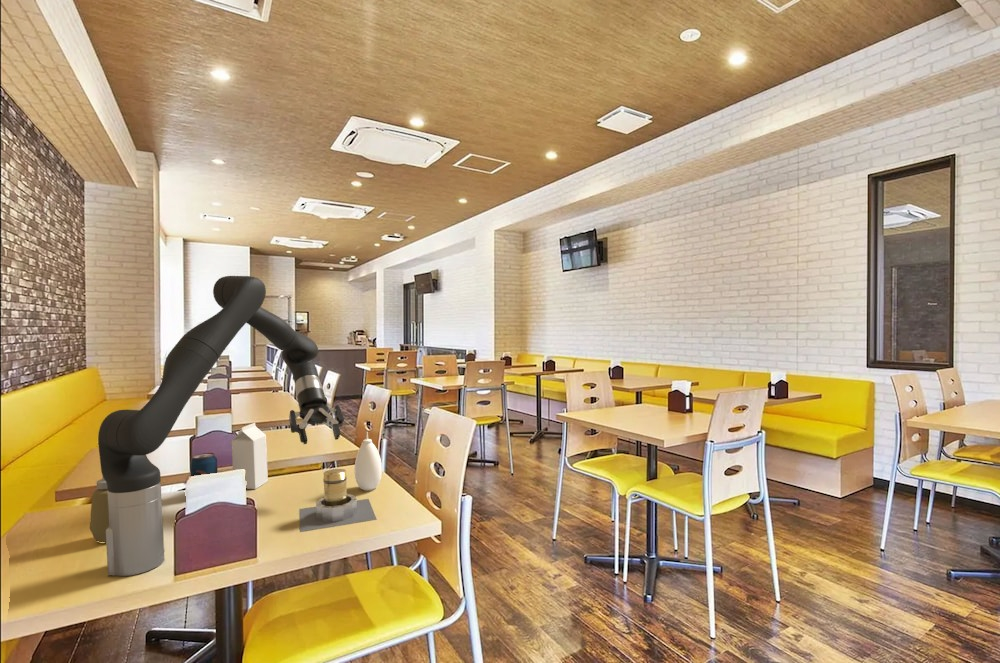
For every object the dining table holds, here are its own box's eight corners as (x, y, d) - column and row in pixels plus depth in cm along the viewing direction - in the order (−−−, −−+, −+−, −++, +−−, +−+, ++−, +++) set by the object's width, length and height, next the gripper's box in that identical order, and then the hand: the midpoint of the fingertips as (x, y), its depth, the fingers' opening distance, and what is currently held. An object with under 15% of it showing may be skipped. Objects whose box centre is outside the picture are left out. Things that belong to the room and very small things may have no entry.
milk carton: (268, 481, 164) (265, 422, 164) (255, 489, 157) (252, 427, 157) (247, 481, 165) (244, 422, 164) (233, 489, 158) (230, 427, 157)
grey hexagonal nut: (317, 524, 128) (316, 510, 128) (315, 510, 137) (315, 497, 137) (358, 517, 131) (358, 504, 131) (354, 504, 141) (354, 491, 140)
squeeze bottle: (97, 535, 126) (94, 462, 126) (136, 529, 129) (133, 458, 129) (84, 548, 119) (80, 471, 118) (126, 542, 122) (122, 466, 121)
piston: (325, 519, 131) (323, 476, 130) (324, 511, 136) (322, 470, 135) (348, 516, 133) (347, 473, 132) (346, 508, 138) (345, 467, 137)
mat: (300, 535, 123) (299, 532, 123) (299, 511, 138) (299, 508, 138) (376, 522, 130) (376, 519, 130) (368, 501, 145) (368, 498, 145)
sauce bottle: (385, 486, 157) (383, 427, 157) (378, 495, 150) (376, 433, 149) (360, 486, 158) (358, 428, 157) (351, 495, 150) (349, 434, 149)
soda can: (186, 499, 150) (184, 458, 149) (201, 491, 157) (199, 452, 156) (208, 499, 149) (207, 458, 149) (223, 491, 156) (221, 452, 156)
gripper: (286, 388, 146) (296, 436, 137) (337, 383, 154) (350, 428, 145) (283, 404, 151) (293, 452, 142) (332, 399, 159) (345, 443, 149)
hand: (321, 440), depth 143 cm, fingers open, 8 cm apart
